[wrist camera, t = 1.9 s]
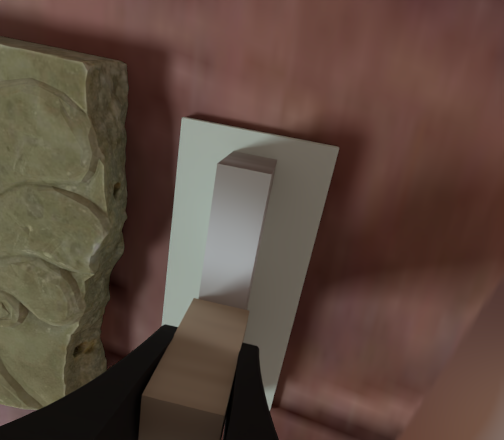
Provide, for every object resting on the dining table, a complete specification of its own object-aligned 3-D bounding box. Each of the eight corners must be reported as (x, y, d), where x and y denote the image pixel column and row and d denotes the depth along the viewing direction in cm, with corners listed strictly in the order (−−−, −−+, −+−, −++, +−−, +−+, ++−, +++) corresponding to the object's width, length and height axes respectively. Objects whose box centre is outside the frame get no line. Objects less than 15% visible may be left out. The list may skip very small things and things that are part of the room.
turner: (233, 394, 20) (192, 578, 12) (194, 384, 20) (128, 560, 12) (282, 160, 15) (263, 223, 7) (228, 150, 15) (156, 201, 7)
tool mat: (269, 408, 21) (268, 416, 20) (158, 381, 21) (155, 387, 21) (337, 146, 15) (339, 148, 14) (185, 116, 15) (182, 117, 15)
